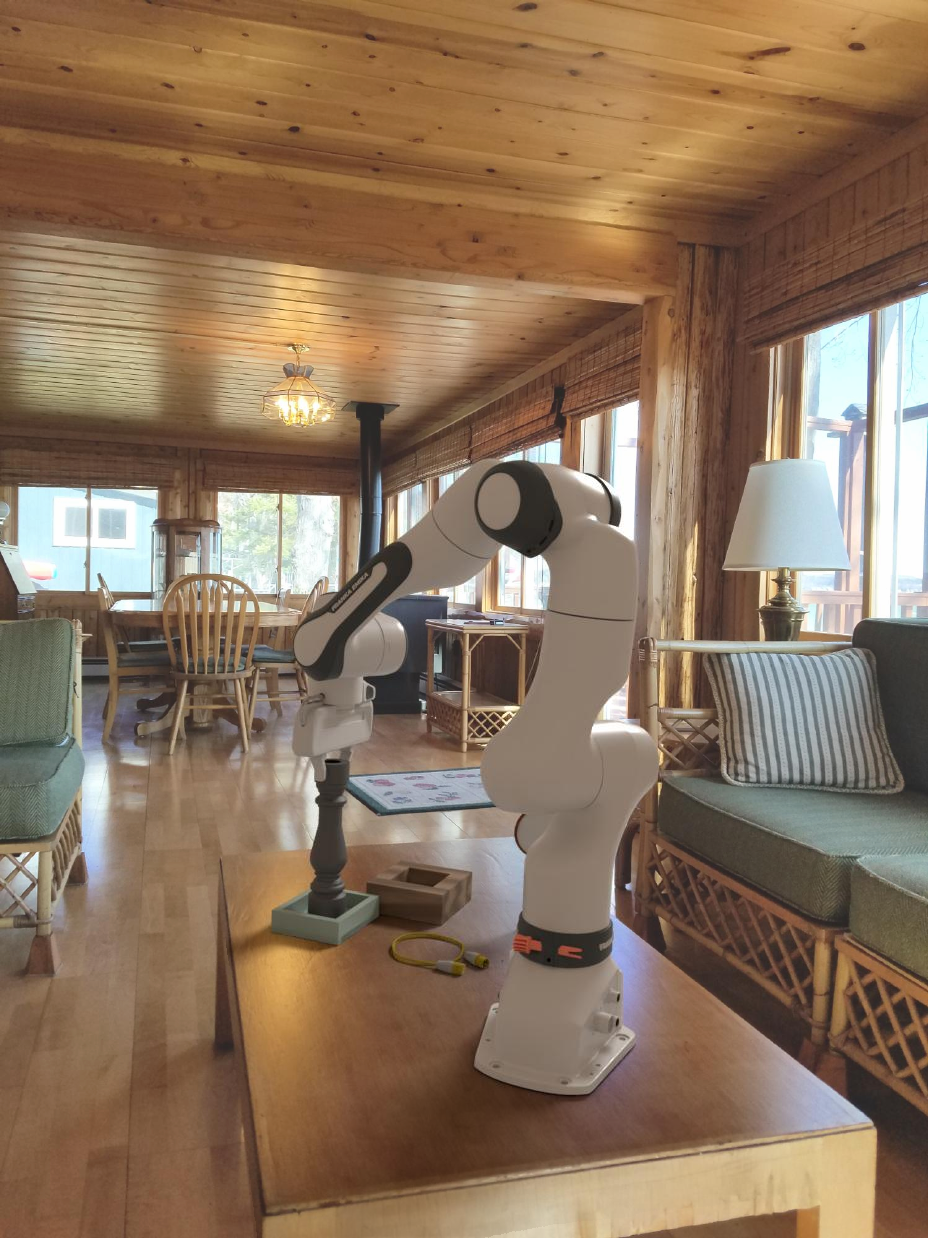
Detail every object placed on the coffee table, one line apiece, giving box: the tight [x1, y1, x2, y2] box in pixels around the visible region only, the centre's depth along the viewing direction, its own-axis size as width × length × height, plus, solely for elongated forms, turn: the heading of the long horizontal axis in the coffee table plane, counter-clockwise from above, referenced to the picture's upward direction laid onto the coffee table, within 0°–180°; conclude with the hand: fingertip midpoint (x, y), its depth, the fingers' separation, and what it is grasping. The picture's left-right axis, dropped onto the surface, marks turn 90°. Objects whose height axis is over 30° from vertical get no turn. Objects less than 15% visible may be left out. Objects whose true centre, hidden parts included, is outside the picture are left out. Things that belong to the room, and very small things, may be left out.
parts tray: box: [270, 888, 380, 946], centre depth 146 cm, size 14×12×4 cm
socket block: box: [365, 860, 473, 926], centre depth 157 cm, size 14×14×5 cm
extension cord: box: [391, 932, 490, 976], centre depth 135 cm, size 12×16×2 cm
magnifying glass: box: [513, 813, 555, 855], centre depth 149 cm, size 9×2×20 cm, turn 102°
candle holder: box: [308, 757, 351, 919], centre depth 146 cm, size 6×6×25 cm
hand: (332, 776), depth 145 cm, fingers closed on candle holder, 6 cm apart
